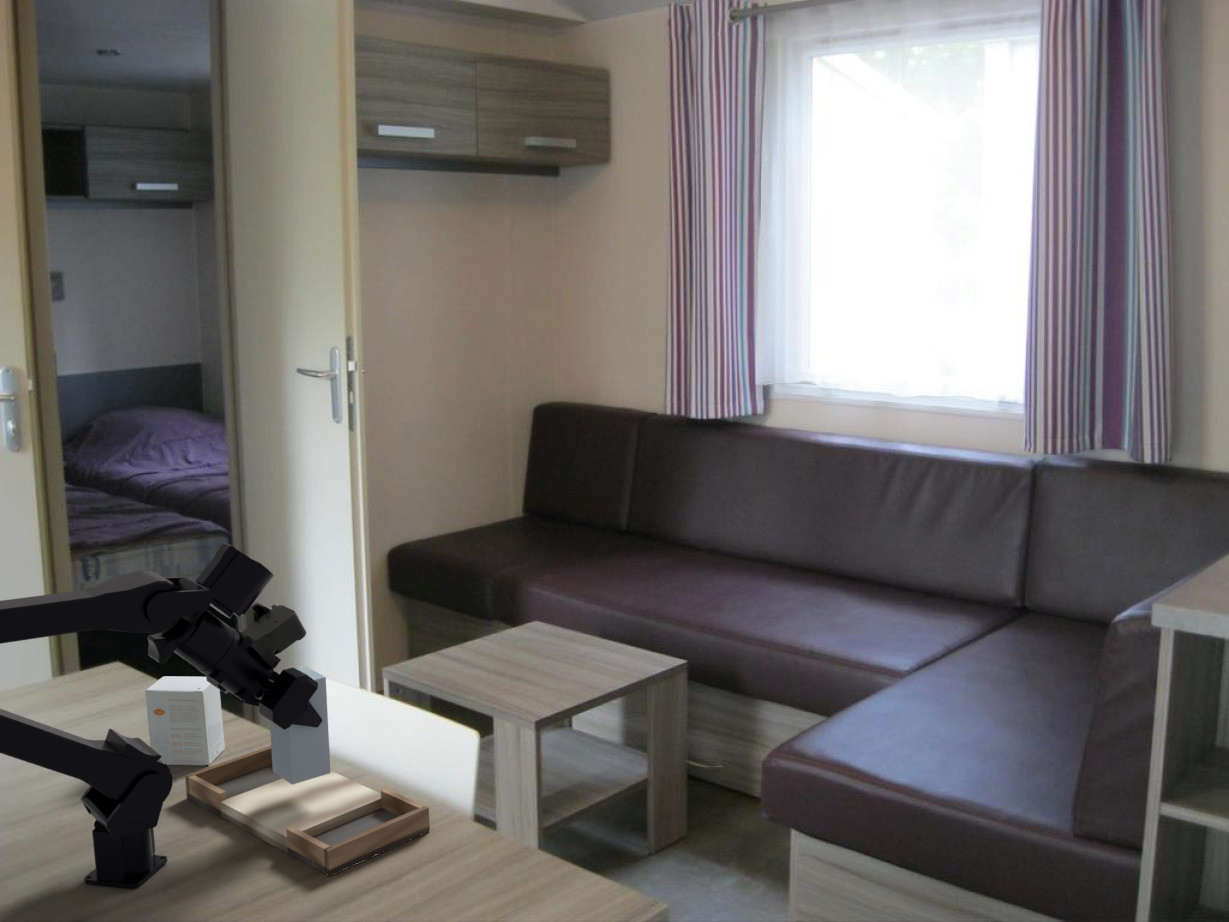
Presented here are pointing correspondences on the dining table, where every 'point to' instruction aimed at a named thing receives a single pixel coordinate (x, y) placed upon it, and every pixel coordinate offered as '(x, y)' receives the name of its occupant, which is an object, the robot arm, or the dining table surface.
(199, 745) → the small box
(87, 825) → the dining table surface
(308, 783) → the box
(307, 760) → the block
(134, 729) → the dining table surface
